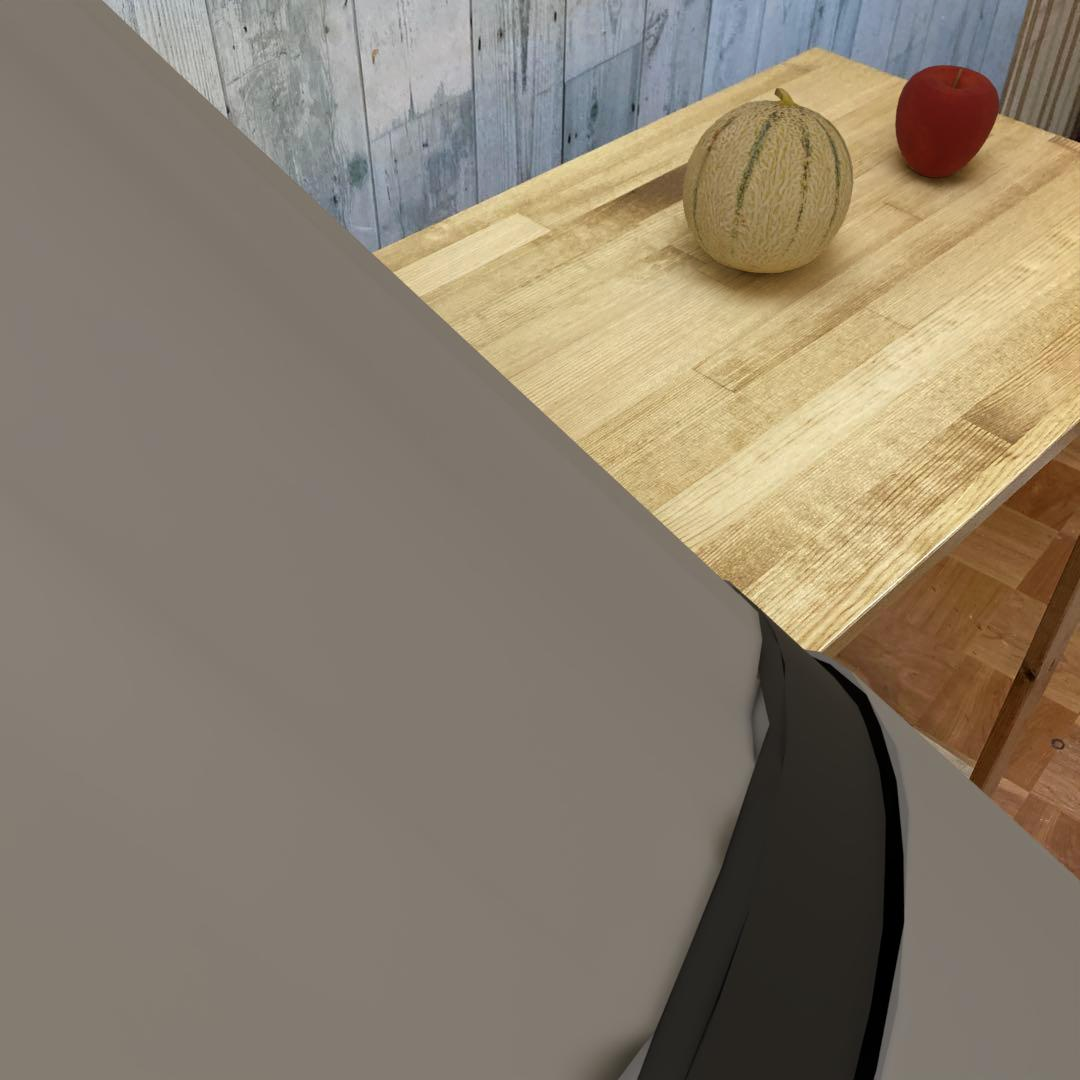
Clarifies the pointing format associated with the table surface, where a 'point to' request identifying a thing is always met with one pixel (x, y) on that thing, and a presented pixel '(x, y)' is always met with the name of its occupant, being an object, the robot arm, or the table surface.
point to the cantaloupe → (768, 186)
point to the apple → (944, 118)
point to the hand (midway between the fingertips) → (453, 729)
